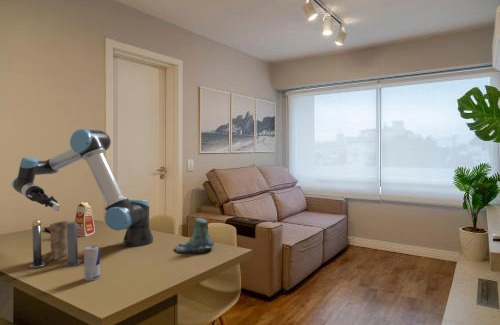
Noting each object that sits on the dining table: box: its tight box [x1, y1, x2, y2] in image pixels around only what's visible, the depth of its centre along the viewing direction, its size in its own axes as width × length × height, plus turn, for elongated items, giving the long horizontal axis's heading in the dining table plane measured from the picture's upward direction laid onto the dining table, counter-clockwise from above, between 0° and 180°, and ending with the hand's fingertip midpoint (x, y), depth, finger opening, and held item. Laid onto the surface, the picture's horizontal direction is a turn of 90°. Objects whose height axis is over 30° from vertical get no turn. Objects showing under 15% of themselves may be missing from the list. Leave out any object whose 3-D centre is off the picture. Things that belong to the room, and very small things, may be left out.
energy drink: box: [83, 245, 101, 282], centre depth 127 cm, size 5×5×12 cm
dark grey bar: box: [62, 221, 84, 268], centre depth 144 cm, size 6×6×18 cm
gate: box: [42, 220, 69, 263], centre depth 150 cm, size 14×2×16 cm, turn 166°
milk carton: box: [74, 201, 96, 237], centre depth 198 cm, size 9×9×20 cm
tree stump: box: [174, 217, 215, 254], centre depth 165 cm, size 18×20×18 cm
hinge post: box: [28, 219, 47, 269], centre depth 141 cm, size 6×6×20 cm
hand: (57, 208), depth 160 cm, fingers closed
